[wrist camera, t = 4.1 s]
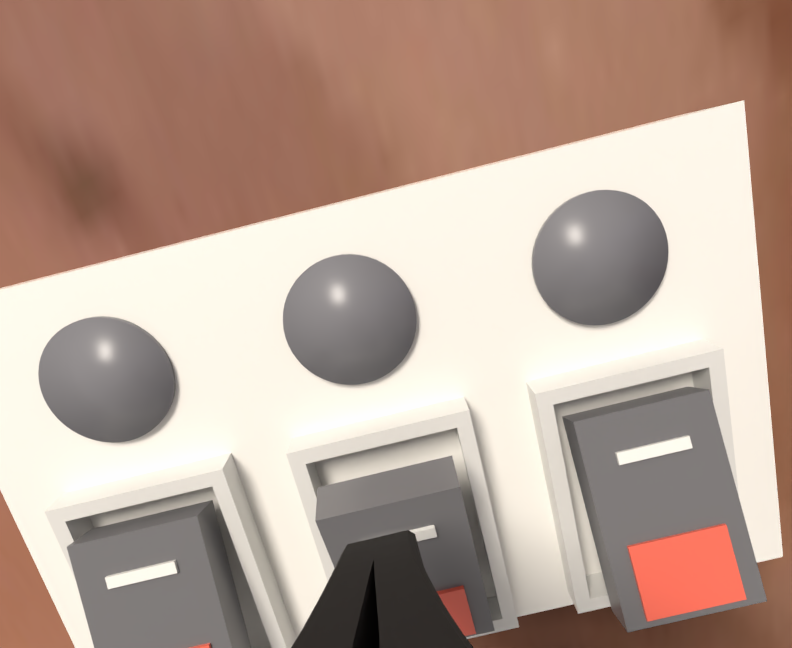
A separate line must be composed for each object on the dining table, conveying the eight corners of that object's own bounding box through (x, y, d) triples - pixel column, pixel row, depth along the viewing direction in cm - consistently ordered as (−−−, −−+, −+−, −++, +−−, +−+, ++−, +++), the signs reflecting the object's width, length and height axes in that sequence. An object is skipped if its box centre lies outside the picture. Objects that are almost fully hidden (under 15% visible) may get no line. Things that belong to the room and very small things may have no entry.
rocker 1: (212, 499, 15) (195, 517, 14) (260, 683, 15) (248, 716, 14) (91, 529, 15) (64, 548, 14) (141, 711, 15) (118, 746, 14)
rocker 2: (688, 386, 15) (711, 389, 14) (741, 582, 15) (769, 603, 13) (561, 416, 15) (574, 422, 14) (612, 611, 15) (629, 634, 13)
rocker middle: (452, 455, 14) (460, 489, 13) (485, 594, 16) (495, 634, 15) (317, 487, 14) (314, 524, 13) (370, 621, 16) (371, 662, 15)
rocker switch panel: (678, 115, 16) (769, 94, 12) (722, 500, 19) (805, 577, 16) (-5, 289, 17) (-115, 319, 13) (144, 634, 20) (90, 738, 16)
